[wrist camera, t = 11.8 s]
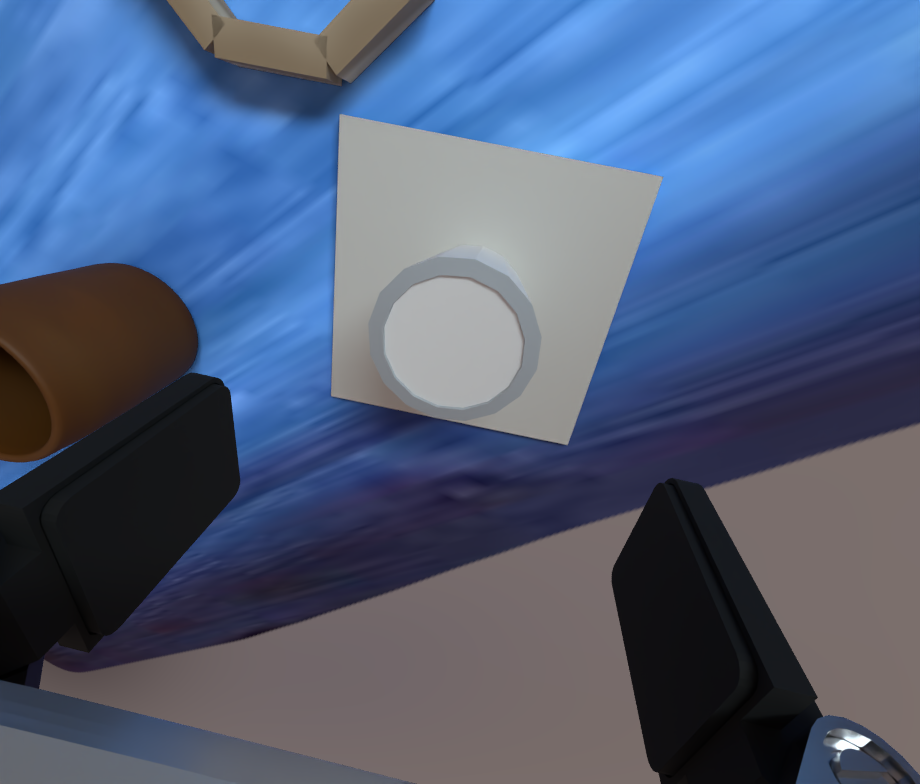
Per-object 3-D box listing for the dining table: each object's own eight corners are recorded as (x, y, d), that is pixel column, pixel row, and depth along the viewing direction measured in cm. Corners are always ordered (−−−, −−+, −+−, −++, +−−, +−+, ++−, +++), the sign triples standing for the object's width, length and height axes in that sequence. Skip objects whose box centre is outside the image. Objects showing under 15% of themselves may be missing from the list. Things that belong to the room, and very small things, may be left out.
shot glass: (481, 380, 25) (469, 450, 19) (383, 309, 24) (336, 359, 17) (562, 288, 22) (580, 334, 16) (455, 200, 21) (430, 214, 14)
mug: (131, 430, 30) (-14, 528, 22) (33, 350, 28) (-170, 425, 20) (228, 335, 26) (92, 412, 18) (120, 231, 24) (-93, 262, 15)
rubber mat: (660, 176, 20) (663, 176, 19) (566, 441, 27) (567, 445, 26) (342, 115, 20) (339, 114, 19) (333, 393, 27) (331, 396, 27)
